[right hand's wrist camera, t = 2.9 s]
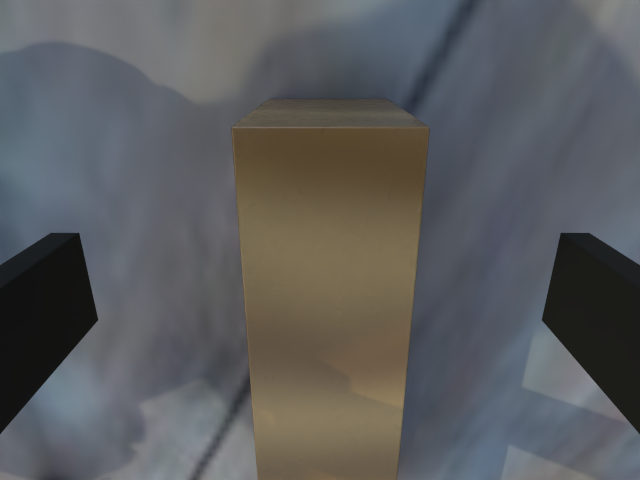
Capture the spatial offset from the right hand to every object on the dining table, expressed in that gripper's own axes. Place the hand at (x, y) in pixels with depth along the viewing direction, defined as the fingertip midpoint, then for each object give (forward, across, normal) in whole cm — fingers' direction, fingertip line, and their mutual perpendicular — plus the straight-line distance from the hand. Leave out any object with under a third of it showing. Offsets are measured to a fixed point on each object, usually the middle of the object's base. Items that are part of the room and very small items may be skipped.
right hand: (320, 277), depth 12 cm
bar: (+9, 0, -7) cm, 11 cm away
